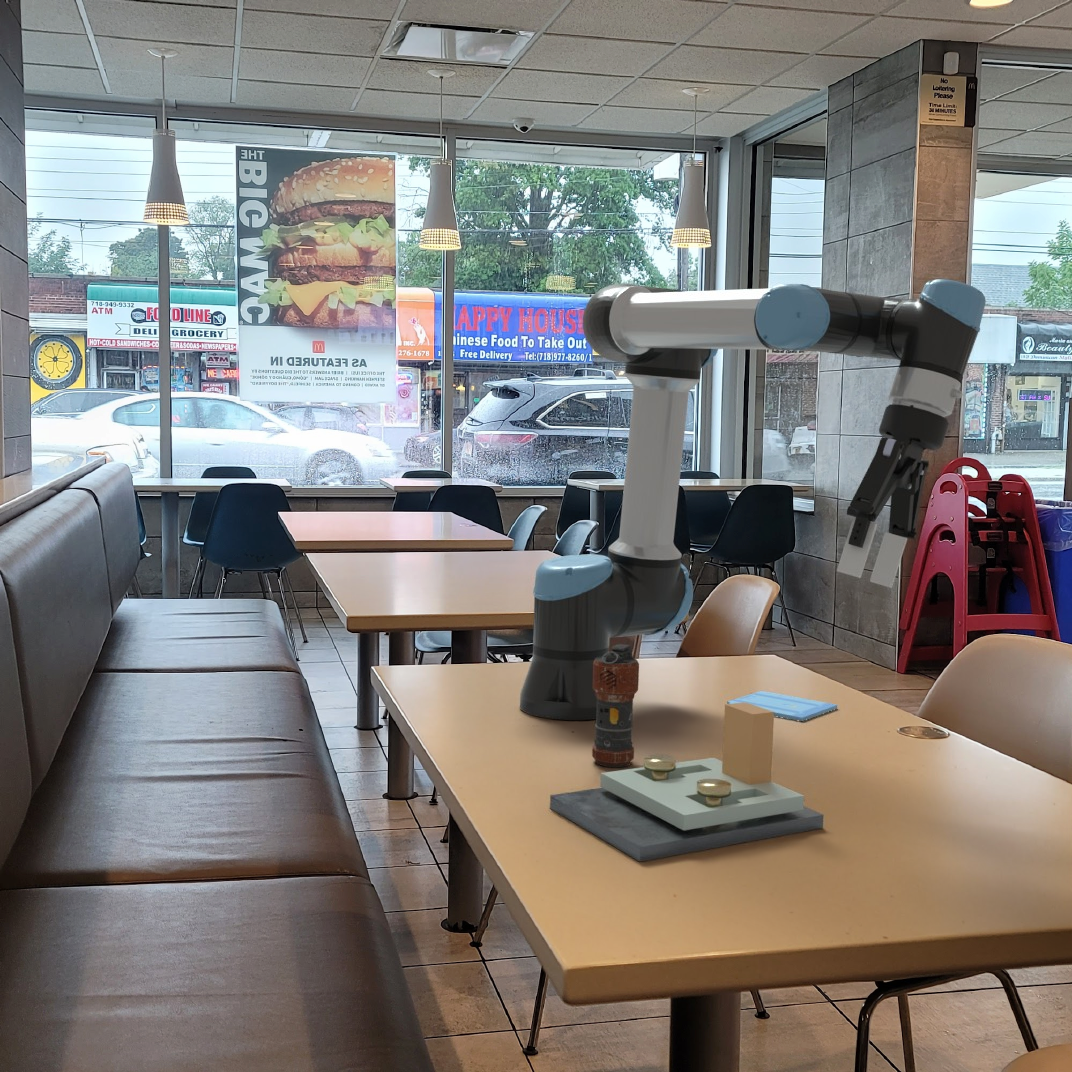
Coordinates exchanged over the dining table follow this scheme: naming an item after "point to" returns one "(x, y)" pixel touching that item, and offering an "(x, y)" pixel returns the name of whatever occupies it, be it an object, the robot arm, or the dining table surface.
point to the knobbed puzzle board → (740, 767)
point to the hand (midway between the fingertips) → (865, 580)
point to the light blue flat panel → (786, 705)
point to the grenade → (614, 706)
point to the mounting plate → (658, 837)
